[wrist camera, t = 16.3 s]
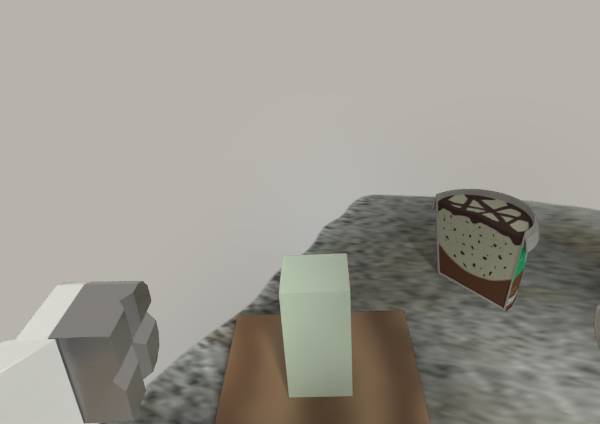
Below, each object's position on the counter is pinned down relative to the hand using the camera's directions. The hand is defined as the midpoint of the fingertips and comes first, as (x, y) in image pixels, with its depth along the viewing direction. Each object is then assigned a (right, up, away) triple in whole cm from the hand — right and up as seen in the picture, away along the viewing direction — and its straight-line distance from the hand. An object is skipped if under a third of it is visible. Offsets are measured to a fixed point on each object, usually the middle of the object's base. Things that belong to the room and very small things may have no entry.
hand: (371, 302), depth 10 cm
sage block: (0, -12, +34) cm, 36 cm away
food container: (+20, -7, +51) cm, 55 cm away
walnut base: (+1, -15, +36) cm, 39 cm away
